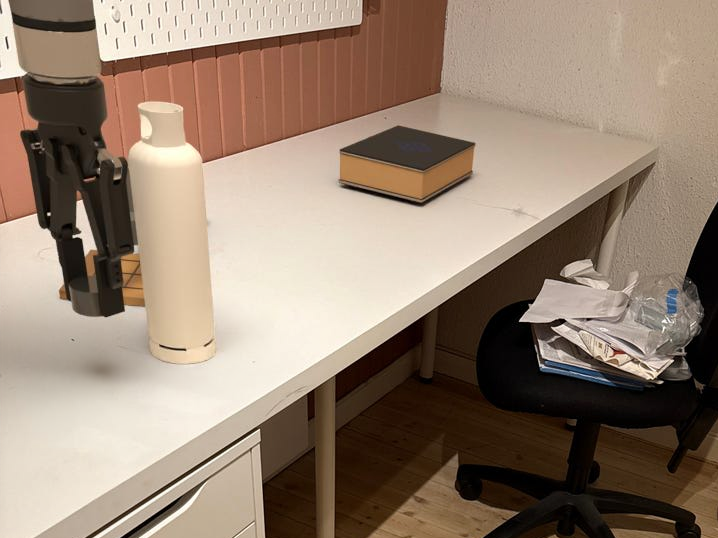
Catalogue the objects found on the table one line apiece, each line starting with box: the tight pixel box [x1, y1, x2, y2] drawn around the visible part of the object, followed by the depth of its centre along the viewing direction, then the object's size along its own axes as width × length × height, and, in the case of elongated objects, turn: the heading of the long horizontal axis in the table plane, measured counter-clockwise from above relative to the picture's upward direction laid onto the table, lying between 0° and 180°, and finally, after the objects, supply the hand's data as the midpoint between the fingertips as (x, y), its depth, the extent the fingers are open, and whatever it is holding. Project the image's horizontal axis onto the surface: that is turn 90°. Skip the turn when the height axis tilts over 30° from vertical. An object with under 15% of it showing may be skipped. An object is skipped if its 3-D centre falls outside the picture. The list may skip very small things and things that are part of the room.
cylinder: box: [69, 276, 103, 318], centre depth 108 cm, size 5×5×3 cm
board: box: [58, 249, 145, 307], centre depth 136 cm, size 16×16×1 cm
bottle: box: [127, 101, 217, 365], centre depth 114 cm, size 8×8×28 cm
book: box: [338, 125, 476, 204], centre depth 186 cm, size 17×25×7 cm
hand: (95, 305), depth 109 cm, fingers closed on cylinder, 5 cm apart
